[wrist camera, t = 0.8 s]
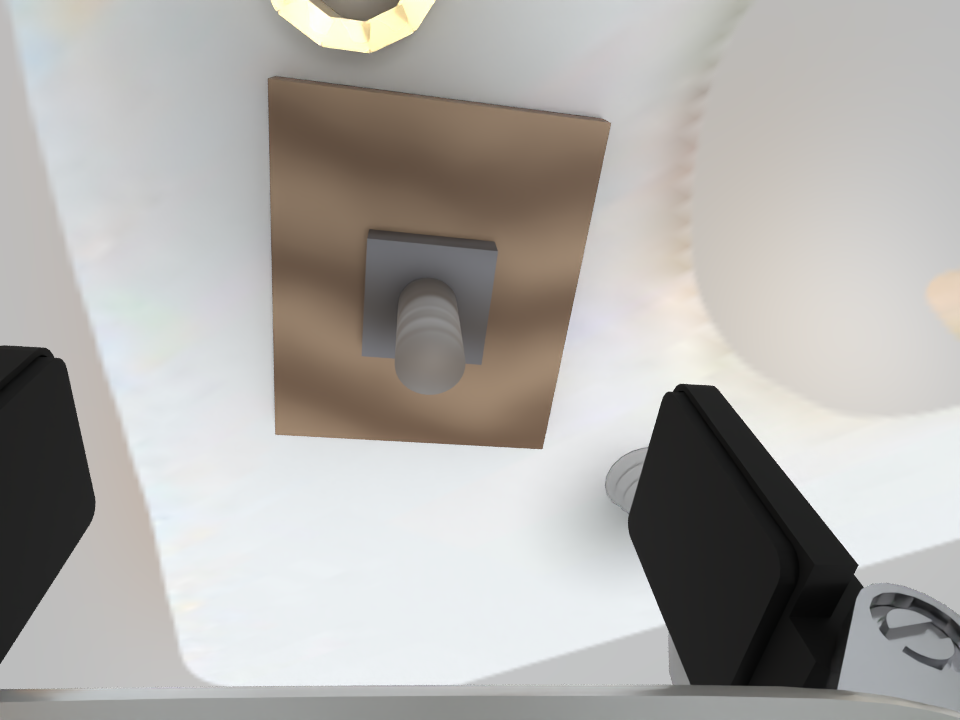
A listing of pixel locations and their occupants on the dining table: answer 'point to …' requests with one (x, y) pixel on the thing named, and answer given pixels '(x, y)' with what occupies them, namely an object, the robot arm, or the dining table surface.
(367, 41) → the ring
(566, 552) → the dining table surface
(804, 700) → the robot arm
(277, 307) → the shaft stand
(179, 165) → the dining table surface
